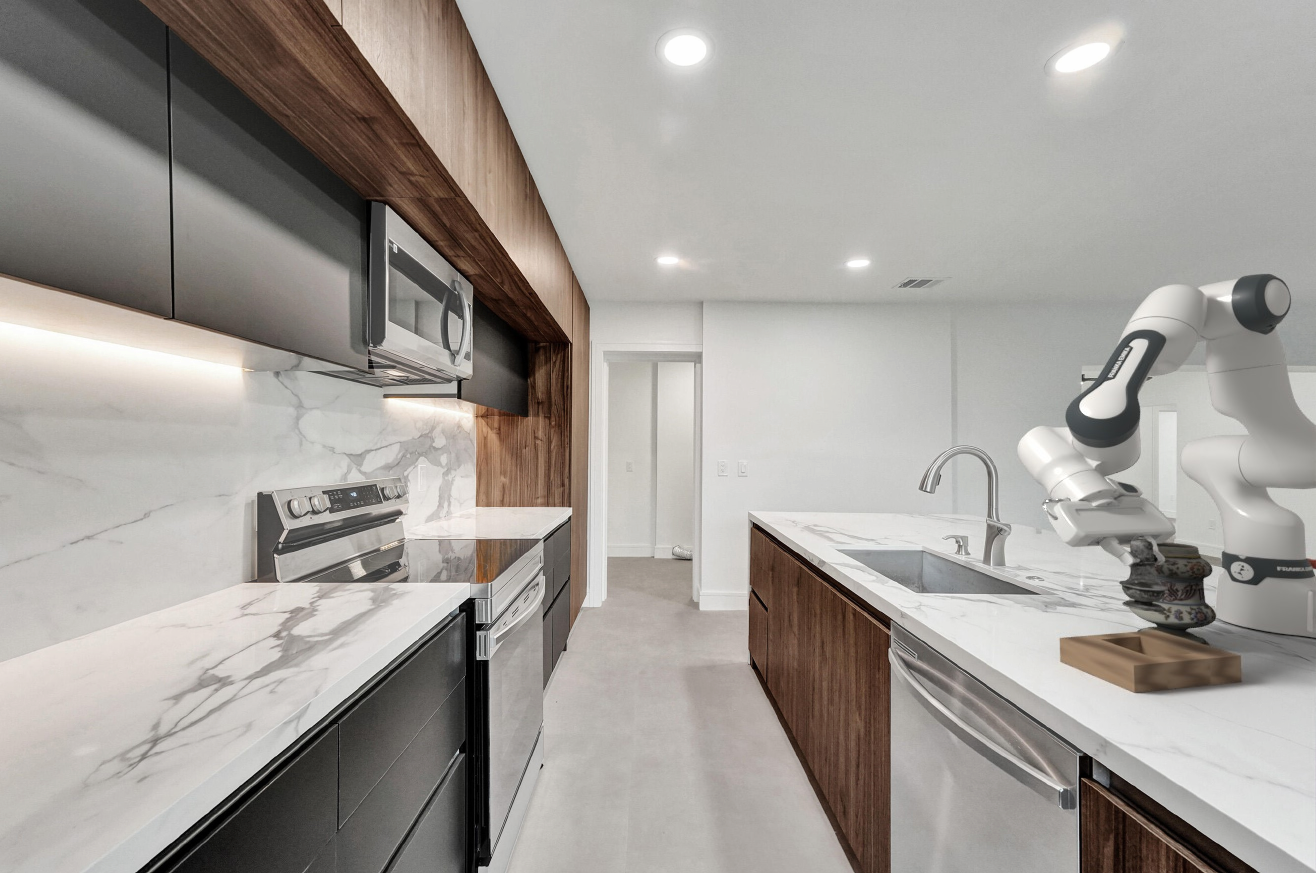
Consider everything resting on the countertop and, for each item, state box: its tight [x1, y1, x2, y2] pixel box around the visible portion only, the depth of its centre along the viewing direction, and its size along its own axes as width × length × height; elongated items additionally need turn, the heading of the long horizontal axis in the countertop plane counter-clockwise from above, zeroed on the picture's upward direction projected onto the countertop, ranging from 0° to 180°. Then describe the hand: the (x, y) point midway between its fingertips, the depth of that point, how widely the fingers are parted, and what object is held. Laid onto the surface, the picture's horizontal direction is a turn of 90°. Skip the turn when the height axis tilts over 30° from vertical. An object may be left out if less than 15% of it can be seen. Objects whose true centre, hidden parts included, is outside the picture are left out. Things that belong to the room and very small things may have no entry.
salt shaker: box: [1118, 533, 1168, 612], centre depth 87 cm, size 6×6×12 cm
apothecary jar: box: [1128, 541, 1217, 646], centre depth 101 cm, size 12×12×18 cm
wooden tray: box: [1059, 630, 1243, 694], centre depth 86 cm, size 20×12×4 cm, turn 100°
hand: (1146, 563), depth 86 cm, fingers closed on salt shaker, 4 cm apart
